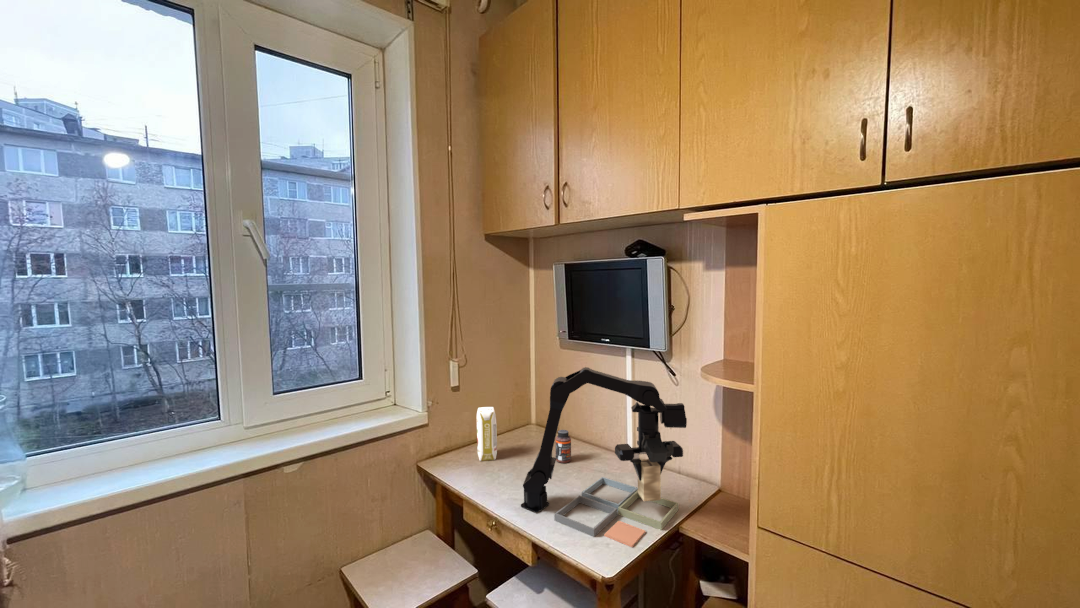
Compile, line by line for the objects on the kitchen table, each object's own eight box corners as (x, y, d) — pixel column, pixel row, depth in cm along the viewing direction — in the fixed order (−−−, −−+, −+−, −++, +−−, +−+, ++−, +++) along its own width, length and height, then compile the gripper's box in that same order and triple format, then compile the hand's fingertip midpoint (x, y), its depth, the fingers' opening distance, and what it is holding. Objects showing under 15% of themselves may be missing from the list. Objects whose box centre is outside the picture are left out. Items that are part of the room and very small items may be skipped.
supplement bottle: (562, 465, 155) (561, 435, 154) (552, 459, 159) (552, 430, 159) (574, 460, 158) (574, 431, 158) (564, 455, 163) (564, 427, 163)
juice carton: (496, 452, 168) (495, 405, 167) (497, 460, 160) (496, 411, 159) (477, 453, 167) (476, 406, 166) (477, 462, 158) (476, 413, 158)
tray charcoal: (554, 520, 118) (554, 513, 118) (579, 501, 128) (579, 495, 128) (594, 536, 110) (593, 529, 110) (617, 515, 120) (617, 508, 120)
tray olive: (618, 514, 121) (618, 507, 120) (637, 496, 131) (637, 490, 131) (661, 530, 112) (661, 522, 112) (678, 509, 123) (678, 502, 123)
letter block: (643, 501, 119) (643, 466, 118) (637, 492, 124) (637, 459, 123) (660, 500, 119) (660, 465, 119) (653, 491, 124) (653, 458, 124)
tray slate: (581, 498, 130) (581, 492, 130) (602, 482, 140) (602, 476, 140) (619, 511, 122) (618, 505, 122) (638, 493, 132) (638, 487, 132)
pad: (604, 536, 110) (604, 534, 110) (618, 522, 117) (618, 520, 117) (632, 547, 105) (632, 545, 105) (645, 532, 112) (645, 530, 112)
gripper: (626, 438, 112) (626, 495, 112) (692, 434, 114) (692, 490, 114) (613, 424, 123) (614, 476, 123) (674, 421, 125) (674, 472, 125)
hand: (648, 479), depth 121 cm, fingers closed on letter block, 5 cm apart
